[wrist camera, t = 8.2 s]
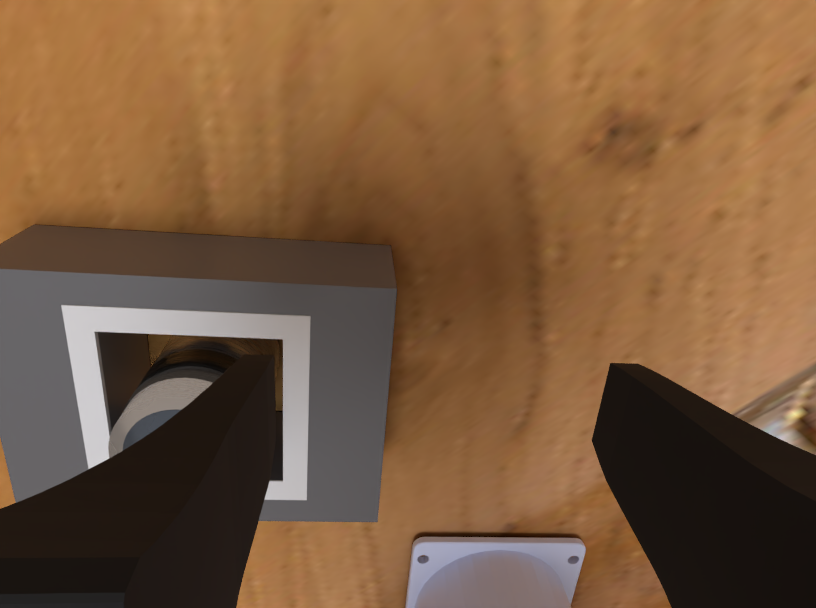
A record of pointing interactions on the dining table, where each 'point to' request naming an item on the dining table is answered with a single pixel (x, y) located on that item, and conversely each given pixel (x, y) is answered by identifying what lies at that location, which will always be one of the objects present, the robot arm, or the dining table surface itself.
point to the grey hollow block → (197, 316)
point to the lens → (181, 381)
